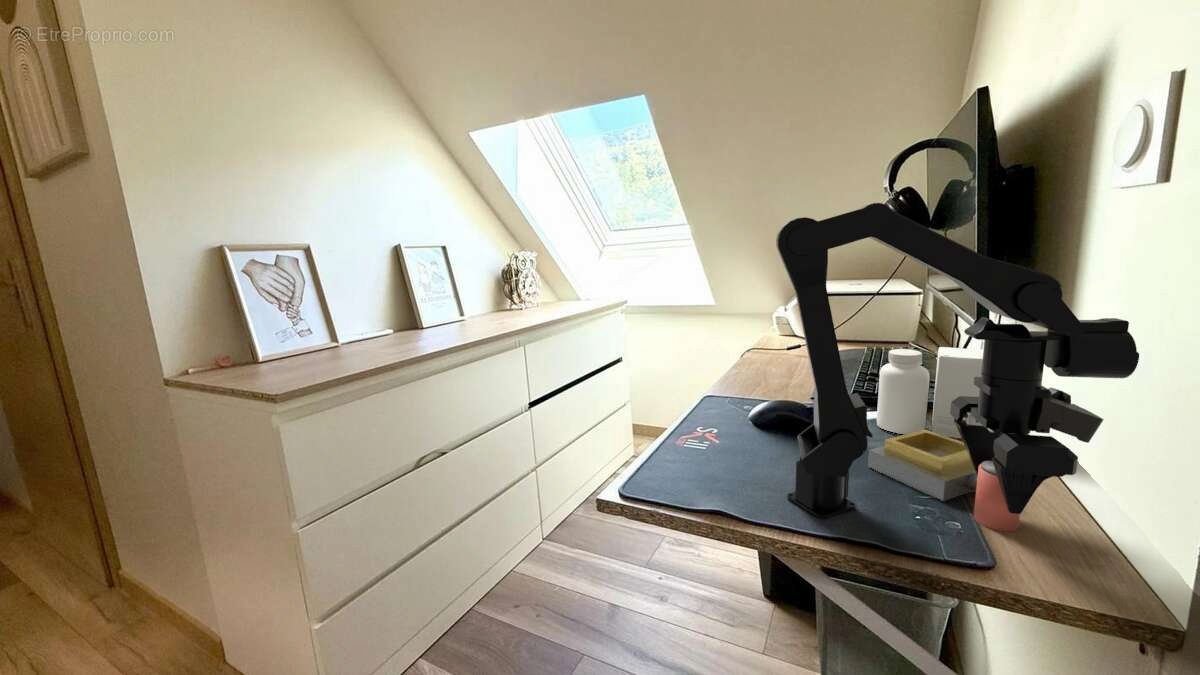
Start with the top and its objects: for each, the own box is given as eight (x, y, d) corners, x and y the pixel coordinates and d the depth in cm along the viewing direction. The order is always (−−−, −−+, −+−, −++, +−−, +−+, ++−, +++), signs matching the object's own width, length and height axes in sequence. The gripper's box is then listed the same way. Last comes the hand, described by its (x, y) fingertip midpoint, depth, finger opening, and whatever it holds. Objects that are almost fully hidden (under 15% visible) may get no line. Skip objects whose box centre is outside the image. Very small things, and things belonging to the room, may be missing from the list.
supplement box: (993, 444, 86) (1002, 360, 83) (931, 435, 91) (937, 355, 88) (989, 427, 93) (997, 349, 91) (932, 420, 98) (938, 345, 96)
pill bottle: (883, 435, 92) (888, 356, 89) (871, 420, 100) (875, 347, 97) (932, 437, 90) (938, 356, 87) (915, 422, 98) (921, 347, 95)
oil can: (1003, 535, 61) (1010, 478, 59) (965, 517, 65) (970, 464, 64) (1026, 526, 62) (1033, 471, 61) (987, 509, 67) (993, 457, 65)
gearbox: (965, 512, 66) (969, 477, 65) (867, 467, 80) (869, 438, 79) (1022, 491, 70) (1026, 458, 69) (920, 452, 84) (922, 424, 83)
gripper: (1153, 402, 49) (1129, 546, 52) (1051, 359, 66) (1038, 468, 69) (1016, 396, 52) (1000, 531, 55) (953, 356, 70) (944, 460, 73)
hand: (997, 494), depth 63 cm, fingers open, 9 cm apart
